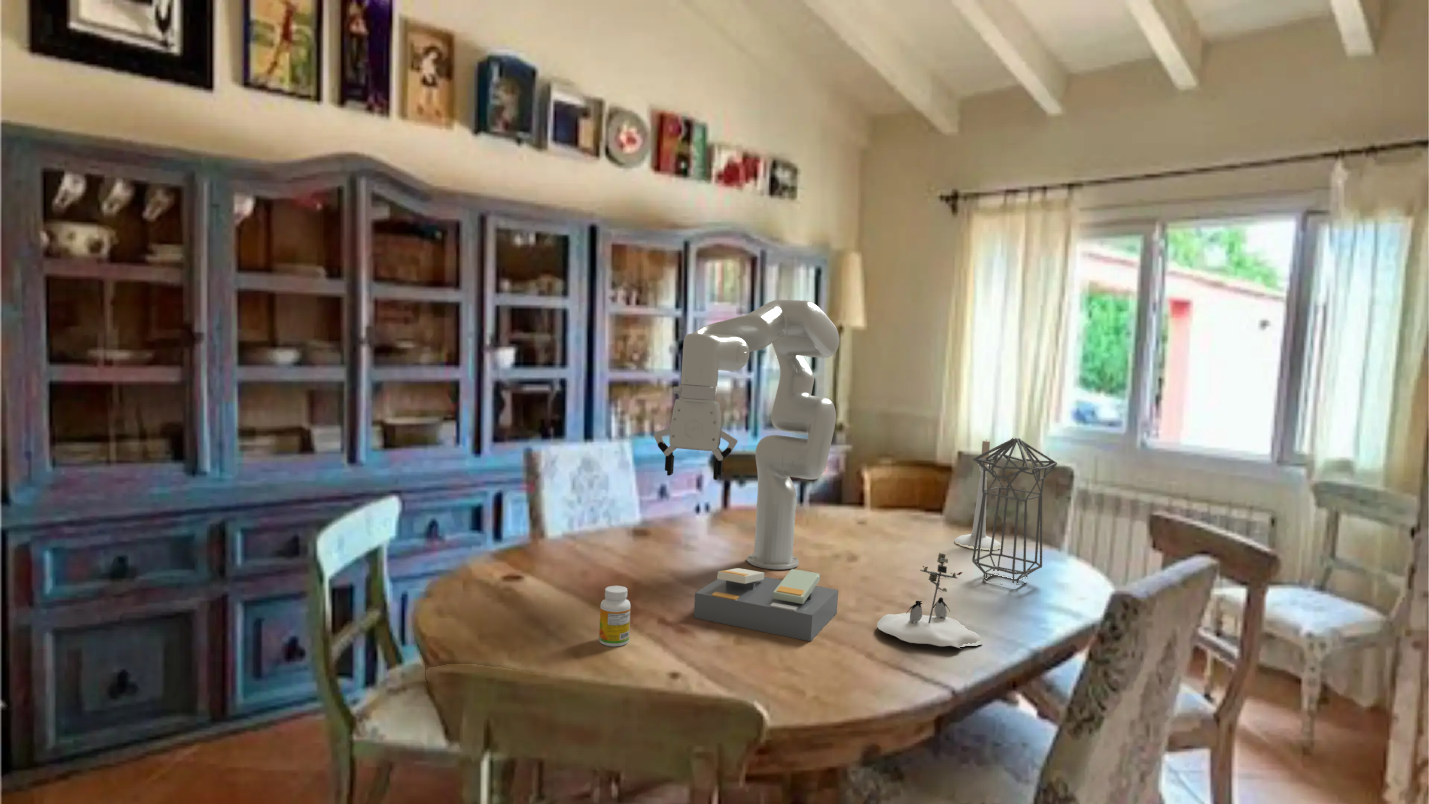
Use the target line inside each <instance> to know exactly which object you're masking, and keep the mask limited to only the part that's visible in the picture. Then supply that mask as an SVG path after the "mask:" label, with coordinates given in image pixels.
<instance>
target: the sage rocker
mask: <svg viewBox="0 0 1429 804" xmlns="http://www.w3.org/2000/svg"><path fill="white" fill-rule="evenodd" d="M789 570H790V571H788V573H786V575H785V577H784V578H783V579H782V580H783V581H782V582H781V583H780V584H779V586H778V587H777V588H776V589H775V591H774V592H773V599H778V600H784V601H789V602H794V603H800V604H803V603H804V602H805V601H806V599H807V598H808V596H809V595H810V594H811V592H812V591H813V589H814V588H815V586H818V583H819V582H820V581H821V573H818V572H812V571H807V570H802V569H795V568H791V569H789Z"/></svg>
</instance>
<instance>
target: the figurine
mask: <svg viewBox="0 0 1429 804" xmlns="http://www.w3.org/2000/svg"><path fill="white" fill-rule="evenodd" d="M946 556H947V555H946V553H943V552H939V553H938V557H937V560H936V561H937V563H938V565H937V569H936V570H937V572H936V571H934V570H933V571H929V570H928V569H929V567H928V566H924V565H922V568H923V569H919V570H920V572H922V573H928V574H929V577H928V580H929V582H930V583H932V584H934V585H935V590H934V596H933V599H932V603H931V610H930V614H929V615H925V614H923V608H922V607H923V606H922V604H924V603H923V601H922V600H915V602H914V604H913V605H912V606H911V605H910V607H909V609H908V610H907V611H906V612H903V613H897V614H891V613H887V614H885V615H883V616H882V617H880V619H879V620H878V622H877V624H876V625H877V628H878V630H879V631H880V632H881V631H882V632H883V633H885V634H887V635H888V634H889V635H890V636H894V637H896V638H898V639H899V640H900V641H904V642H907V643H910V644H913V643H914V644H926V645H927V644H928V645H932V646H938V647H948V646H949V647H950V646H951V647H955V648H957V649H961V648H960V646H962V645H963V644H968V643H970V644H972V643H976V642H977V641H980V640H981V637H980V635H979V634H977V633H976V632H975V631H972V630H970V629H969V628H968V627H967V628H968V629H969V630H968V629H967V628H965V627H966V626H965V625H963V624H961V622H959V621H958V619H957V620H956V619H954V618H952V617H949V616H948V615H947V613H948V612H947V609H948V611H949V612H951V610H950V608H949V607H948V605H947V604H946V603H945V601H944V598H943V597H942V596H941V597H939V598H938V600H937V601H936V598H937V593H938V590H939V591H941V592H942V593H943V592H945V593H947V592H948V590H947V588H946V587H943V588H941V587H940V585H941V583H940V581H941V579H942V580H944V579H947V580H949V579H958V577H957V576H960V575H962V574H963V572H962V571H960V572H957V573H956V572H950V574H951V575H949V574H947V573H948V572H947V570H948V569H947V568H948V567H947V566H946V565H945V564H948V560H949V559H948V558H946ZM941 577H943V578H941ZM935 601H936V602H935ZM933 610H934V614H935V615H933ZM909 611H910V612H909Z"/></svg>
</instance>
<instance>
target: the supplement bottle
mask: <svg viewBox="0 0 1429 804" xmlns="http://www.w3.org/2000/svg"><path fill="white" fill-rule="evenodd" d="M627 598H628V588H627V587H626V586H622V585H610V586H607V587H605V588H604V599H603V600H602V601H600V602H601V603H600V607H599V610H600V611H599V630H598V631H599V633H598V641H599V643H600V644H602V645H603V646H606V647H613V648H614V647H621V646H625V645H627V644H628V643H629V642H630V626H631V607H632V606H631V602H630V600H629V599H627Z"/></svg>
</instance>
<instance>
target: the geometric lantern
mask: <svg viewBox="0 0 1429 804" xmlns="http://www.w3.org/2000/svg"><path fill="white" fill-rule="evenodd" d="M1016 445H1017V446H1018V449H1019V452H1020V454H1021V458H1020V457H1015V456H1012V455H1013V454H1014V450H1015V448H1016ZM1033 451H1034V452H1035V453H1036V454H1039V456H1041V457H1043V458H1044V459H1046V460H1040V459H1039V458H1038V457H1037V456H1036V455H1035V453H1034V452H1033ZM1008 452H1009V454H1007V453H1008ZM1025 453H1026V455H1027V457H1028V458H1026V455H1025ZM987 454H989V456H988V457H987V458H985V459H981V458H982V457H984V456H985V455H987ZM1002 458H1005V459H1006V462H1005V464H1004V466H1003V465H1002V466H1001V465H997V464H998V463H999V461H1000V460H1001V459H1002ZM971 460H972V461H973V462H974V463H976V464H977V465H978V464H979V465H980V466H981V467H982V468H983V486H982V493H983V496H982V503H981V509H980V515H979V521H978V527H977V533H976V540H975V546H974V550H973V552H972V559H971V560H972V563H973V564H974V565H975V566H976V567H977V568H978V569H979V570H980V571H981V572H982V574H983V577H985V578H987V577H988V576H991V575H992V577H995V578H1000V579H1005V580H1010V581H1011V584H1012V583H1014V584H1015V582H1016V584H1017V583H1018V584H1019V579H1023V577H1025V578H1026V577H1027V578H1028V575H1030V574H1032V573H1033V572H1035V571H1037V570H1040V569H1042V568H1043V489H1044V484H1045V479H1046V478H1047V477H1048V476H1049V474H1050V473H1051V472H1052V471H1053V469H1054V468H1055V467H1056V466H1057V465H1058V463H1057V461H1055V460H1054V459H1052V458H1050V457H1048V456H1047V455H1045V454H1044V453H1043V452H1041V451H1039V450H1037V449H1036V448H1034V447H1033V446H1032V445H1030V444H1029V443H1026V441H1024V440H1022V439H1021V438H1017V437H1012V438H1010V439H1009V440H1007V441H1005V442H1003V443H1001V444H999V445H997V446H995V447H993V448H990V449H989V451H987V452H985V453H983V454H982V453H981V454H979V455H978V456H975V457H973V458H972V459H971ZM1013 460H1014V461H1015V460H1016V461H1018V462H1021V463H1022V464H1021V465H1022V466H1019V465H1017V464H1016V463H1015V462H1014V461H1013ZM992 461H993V462H992ZM981 462H983V463H981ZM1028 462H1030V463H1031V464H1032V466H1033V467H1030V466H1029V465H1030V464H1029V463H1028ZM985 463H987V464H988V465H989V468H987V467H986V466H985ZM1009 463H1011V465H1013V466H1008V465H1009ZM1038 464H1039V465H1040V466H1041V467H1040V466H1039V465H1038ZM979 465H978V466H979ZM990 465H991V466H990ZM994 468H997V469H1001V470H1002V475H998V474H997V472H996V470H994ZM1006 469H1007V470H1008V469H1009V470H1012V469H1013V470H1017V471H1015V472H1013V473H1012V472H1011V473H1010V474H1008V475H1006V472H1005V470H1006ZM1029 470H1031V471H1029ZM1043 470H1044V472H1043V476H1042V477H1041V471H1043ZM985 471H988V472H987V473H989V474H990V475H991V477H992V478H994V479H993V481H992V482H991V484H990V486H989V488H987V490H984V487H985ZM1020 473H1024V474H1029V475H1032V476H1033V477H1034V480H1035V483H1034V485H1033V487H1032V489H1031V490H1030V491H1029V490H1024V489H1023V490H1022V489H1018V488H1017V489H1016V488H1013V486H1012V484H1013V482H1014V481H1015V480H1016V478H1018V476H1019V475H1020ZM1013 476H1014V477H1013ZM1012 477H1013V478H1012ZM1009 478H1012V479H1011V481H1010V480H1009ZM1001 479H1004V480H1005V481H1006V483H1007V486H1005V487H1004V486H1003V484H1002V482H1001ZM996 480H997V481H998V482H999V484H1000V486H996V487H993V485H994V484H995V482H996ZM1039 482H1041V485H1039ZM1036 486H1037V487H1038V490H1039V492H1036V491H1035V492H1034V489H1035V488H1036ZM993 490H998V493H997V494H996V493H992V492H989V491H993ZM1003 490H1005V491H1006V493H1005V495H1002V491H1003ZM986 491H987V492H986ZM1009 491H1011V492H1012V493H1013V496H1014V497H1011V496H1009ZM1016 492H1021V493H1028V494H1027V496H1026V498H1020V497H1019V496H1018V495H1017V493H1016ZM1031 494H1033V495H1035V496H1032V497H1030V496H1031ZM987 495H988V496H995V497H997V500H996V507H995V515H994V521H993V528H992V529H993V530H992V535H991V538H992V541H991V548H990V551H989V553H987V554H985V555H981V551H980V548H981V538H982V529H983V519H984V510H985V500H986V501H987ZM1001 498H1004V499H1005V502H1004V511H1003V520H1002V531H1001V542H1000V544H1001V549H1000V550H999V551H1000V552H999V553H994V552H993V551H992V550H993V543H994V539H995V537H996V529H997V522H998V513H999V506H1000V502H1001V501H1000V500H1001ZM1036 498H1038V499H1037V500H1038V502H1037V515H1036V516H1037V519H1036V535H1035V552H1034V560H1029V559H1027V525H1028V524H1027V523H1028V520H1027V518H1028V517H1027V514H1028V501H1029V500H1033V499H1036ZM1009 499H1011V500H1016V504H1015V505H1016V506H1015V520H1014V537H1013V552H1012V556H1011V555H1008V554H1003V552H1004V551H1003V550H1004V541H1005V531H1006V529H1005V528H1006V520H1007V511H1008V500H1009ZM1020 501H1021V502H1024V508H1023V509H1024V510H1023V511H1024V514H1023V516H1024V518H1023V521H1024V522H1023V554H1022V555H1023V557H1022V558H1021V557H1016V553H1017V538H1018V537H1017V536H1018V523H1019V522H1018V521H1019V506H1020V505H1019V502H1020ZM980 523H981V525H980ZM979 529H980V535H979ZM978 536H979V545H978V550H976V548H977V542H978ZM1038 549H1039V550H1038ZM1038 553H1039V562H1038ZM976 555H977V557H976ZM980 555H981V556H980ZM992 556H994V557H998V561H997V566H996V564H995V562H994V558H993V557H992ZM988 557H989V558H990V561H991V562H992V565H990V564H985V563H982V562H980V560H983V559H985V558H988ZM1001 557H1003V558H1008V559H1012V566H1011V567H1012V569H1011V568H1007V567H1003V566H1000V562H1001ZM1016 561H1022V562H1023V567H1022V568H1023V569H1022V570H1017V569H1016ZM1027 563H1029V564H1031V565H1030V566H1029V567H1028V568H1027ZM1034 565H1037V566H1035V567H1033V566H1034ZM983 567H984V568H985V567H986V568H988V569H986V570H984V568H983ZM1026 568H1027V569H1026ZM991 570H992V572H993V571H996V572H997V571H1000V572H1003V573H1008V574H1012V578H1013V579H1011V578H1007V577H1002V576H998V575H999V574H998V575H994V574H995V573H994V574H993V573H989V572H990V571H991ZM1015 575H1018V577H1016V578H1017V579H1014V578H1015ZM983 577H982V578H983Z"/></svg>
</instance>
